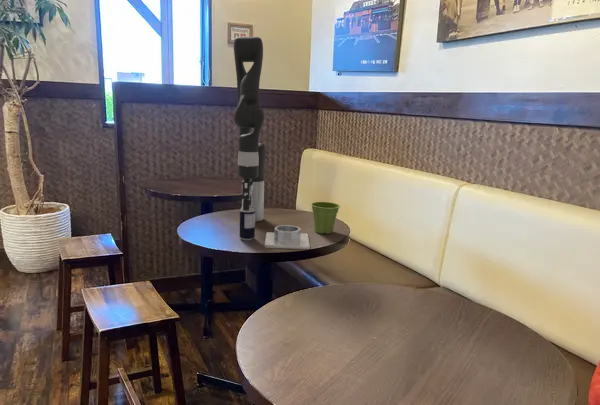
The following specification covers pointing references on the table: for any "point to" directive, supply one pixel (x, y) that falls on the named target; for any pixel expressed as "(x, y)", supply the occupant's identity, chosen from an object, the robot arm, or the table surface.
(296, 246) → the metal collar
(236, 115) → the robot arm
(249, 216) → the beverage can
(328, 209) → the plant pot
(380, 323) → the table surface
